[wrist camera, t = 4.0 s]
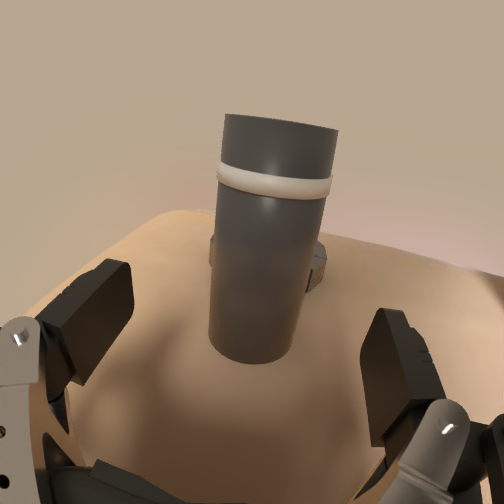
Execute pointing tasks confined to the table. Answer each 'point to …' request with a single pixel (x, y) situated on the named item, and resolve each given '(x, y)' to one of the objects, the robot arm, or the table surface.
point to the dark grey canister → (265, 232)
